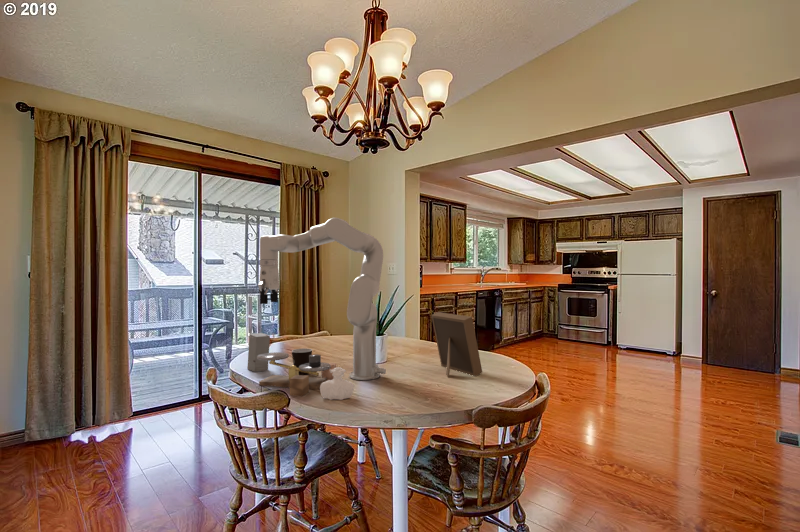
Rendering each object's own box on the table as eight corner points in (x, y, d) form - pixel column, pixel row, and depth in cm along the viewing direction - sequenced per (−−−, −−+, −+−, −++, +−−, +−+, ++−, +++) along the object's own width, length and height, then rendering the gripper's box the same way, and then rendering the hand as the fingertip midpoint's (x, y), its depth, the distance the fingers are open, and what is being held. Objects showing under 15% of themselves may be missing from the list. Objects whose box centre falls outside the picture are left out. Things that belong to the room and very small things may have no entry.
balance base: (327, 381, 160) (327, 378, 160) (316, 389, 151) (316, 385, 151) (272, 378, 166) (272, 374, 166) (259, 385, 156) (259, 381, 156)
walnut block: (308, 392, 147) (308, 375, 147) (302, 396, 143) (302, 379, 143) (296, 391, 149) (296, 374, 149) (289, 395, 144) (289, 378, 144)
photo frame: (448, 364, 188) (447, 311, 188) (482, 374, 170) (481, 315, 170) (423, 369, 180) (422, 313, 180) (456, 380, 162) (455, 318, 162)
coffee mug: (309, 376, 169) (309, 352, 169) (289, 376, 169) (289, 352, 169) (315, 369, 180) (315, 347, 180) (296, 369, 180) (296, 347, 181)
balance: (335, 377, 161) (335, 353, 161) (323, 386, 149) (323, 359, 149) (267, 373, 167) (267, 349, 167) (250, 381, 156) (250, 356, 156)
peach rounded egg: (338, 377, 167) (338, 363, 167) (333, 381, 161) (333, 366, 161) (325, 376, 168) (325, 362, 168) (319, 380, 162) (319, 365, 162)
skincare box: (247, 369, 181) (247, 334, 181) (262, 366, 186) (262, 332, 186) (254, 372, 175) (254, 336, 175) (270, 369, 180) (270, 334, 180)
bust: (354, 403, 141) (356, 373, 148) (352, 395, 135) (354, 364, 142) (320, 403, 141) (324, 373, 148) (316, 395, 135) (320, 364, 142)
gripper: (267, 263, 167) (268, 304, 167) (285, 264, 185) (285, 301, 184) (251, 263, 168) (251, 304, 168) (270, 264, 186) (270, 301, 185)
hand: (269, 302), depth 176 cm, fingers open, 9 cm apart
